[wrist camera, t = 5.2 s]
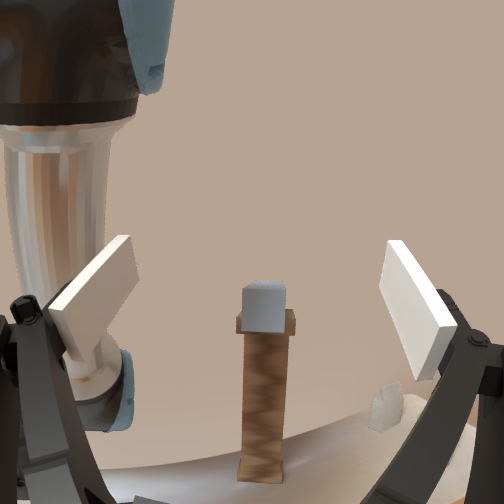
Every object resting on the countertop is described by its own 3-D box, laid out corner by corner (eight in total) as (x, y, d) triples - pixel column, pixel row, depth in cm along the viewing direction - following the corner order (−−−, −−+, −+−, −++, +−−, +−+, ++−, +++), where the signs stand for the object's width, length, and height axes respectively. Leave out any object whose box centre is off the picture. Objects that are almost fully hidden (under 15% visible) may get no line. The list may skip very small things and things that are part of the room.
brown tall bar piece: (233, 495, 36) (236, 317, 37) (240, 464, 45) (244, 307, 46) (281, 498, 36) (295, 319, 37) (281, 466, 45) (292, 309, 46)
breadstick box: (241, 330, 29) (242, 288, 29) (255, 307, 47) (255, 280, 47) (284, 332, 29) (285, 290, 29) (282, 308, 47) (283, 281, 47)
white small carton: (399, 422, 57) (406, 382, 58) (380, 432, 54) (387, 390, 54) (387, 418, 60) (393, 378, 61) (367, 427, 57) (374, 386, 58)
